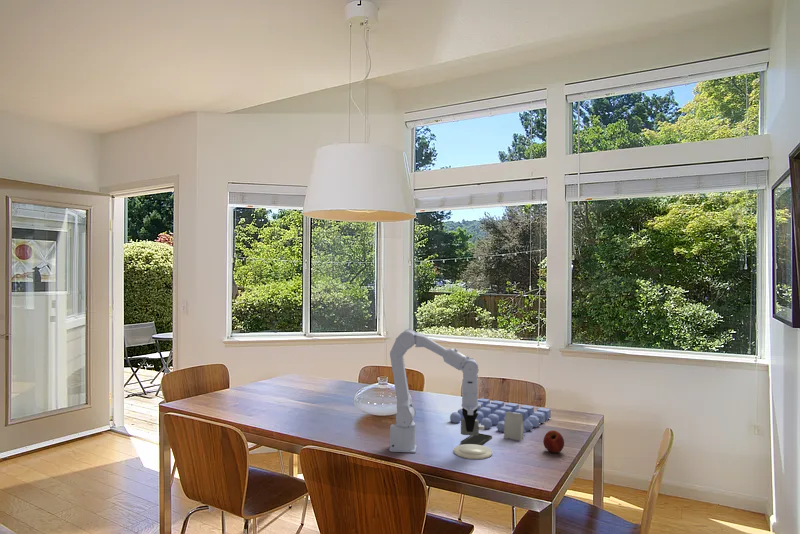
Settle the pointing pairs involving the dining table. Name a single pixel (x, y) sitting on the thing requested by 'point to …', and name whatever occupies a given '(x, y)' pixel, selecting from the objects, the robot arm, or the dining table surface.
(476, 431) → the connector
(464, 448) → the plate
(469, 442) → the phone
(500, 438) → the dining table surface
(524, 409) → the blocks
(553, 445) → the apple
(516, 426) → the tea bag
